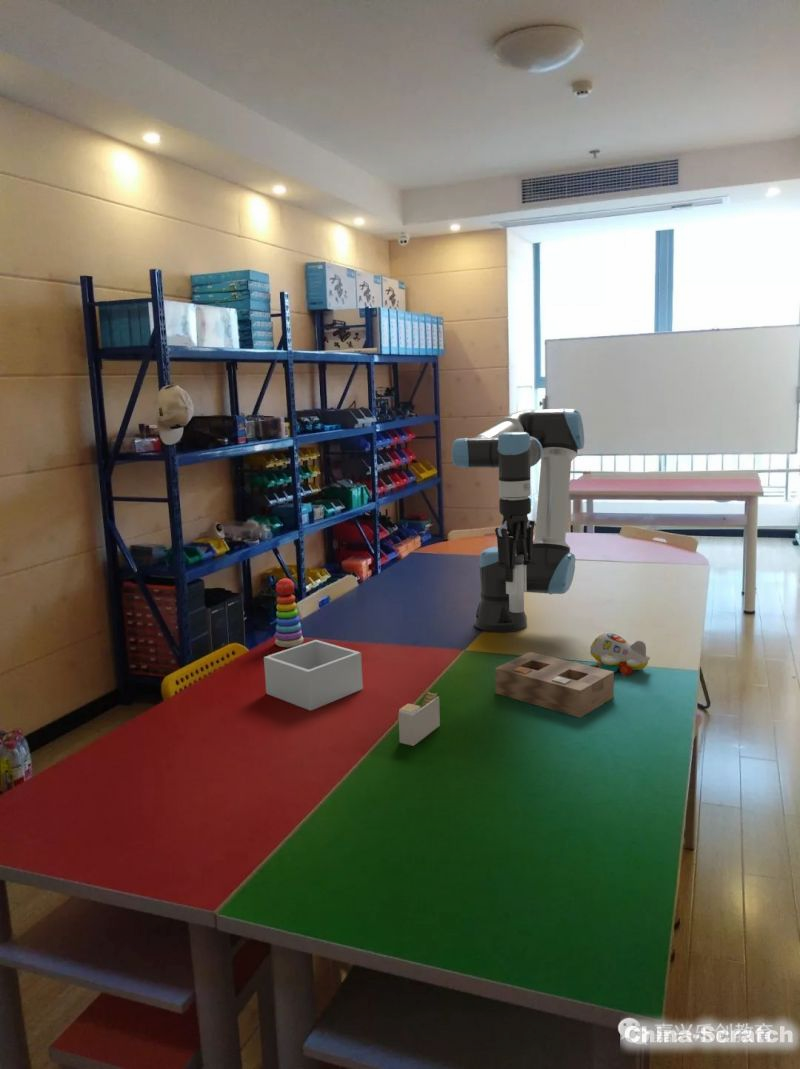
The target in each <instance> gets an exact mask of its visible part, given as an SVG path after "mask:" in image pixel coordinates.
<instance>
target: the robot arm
mask: <svg viewBox="0 0 800 1069" xmlns="http://www.w3.org/2000/svg"><path fill="white" fill-rule="evenodd" d="M584 434H585V432H584V425H583V420H582V415H581V412H580V411H579V410H577V409H576V408H564V407H563V408H550V409H549V408H548V409H547V408H545V409H524V410H520V411H516V412H513V413H511V414H508V415H506V416H503V417H502V418H500V419H498V420H497V421H496V422H494V424H493V426H492V427H490V428H489V429H487V430H485V431H483V432H481V433H480V434H478V435H476V436H474V437H464V438H463V437H462V438H456V439H455V440H453V443H452V447H451V461H452V463H453V465H454V466H455V467H457V468H463V469H465V468H466V469H469V468H470V469H473V468H474V469H475V468H476V469H477V468H479V469H481V468H482V469H483V468H485V469H487V468H488V469H489V468H490V469H491V468H492V469H494V468H497V469H498V496H499V497H500V498H499V499H498V501H499V502H498V504H499V505H498V506H499V507H498V508H499V509H498V510H499V514H501V516H502V522H501V526H500V527H496V528H494V532H495V535H496V543H497V544H496V546H495V545H494V546H491V547H488V548H486V549H483V550H482V551H481V553H480V555H479V565H478V568H479V587H480V588H479V595H480V597H479V598H480V600H479V602H478V603H479V604H478V606H477V610H476V613H475V616H474V626H475V627H476V628H478V629H479V630H482V631H485V632H491V633H511V632H516V631H519V630H520V631H521V630H523V629H525V628H527V625H528V617H527V614H526V612H525V610H524V612H520V613H513V612H510V611H509V594H511V595H517V569H516V568H514V566H515V554H516V553H519V554H523V555H524V593H535V594H536V593H537V594H548V595H562V594H563V595H564V594H565V593H567V592H568V591H569V589H570V588H571V586H572V583H573V579H574V575H575V570H576V556H575V554H574V553H572V552H571V547H570V546H569V544H568V543H567V542H566V536H567V521H568V510H569V509H568V508H569V496H570V484H571V469H572V461H573V460H574V459H576V458H577V456H578V450H579V451H581V450H582V449H584V447H585V435H584ZM538 462H540V471H539V483H538V484H539V485H538V495H537V496H538V497H537V505H536V506H537V507H536V520H530V519H529V517H528V515H529V514H531V512H532V500H531V498H530V496H531V494H532V492H531V489H532V488H531V468H532V467H534V466H535V465H537V464H538ZM534 530H535V531H534Z"/></svg>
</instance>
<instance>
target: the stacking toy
mask: <svg viewBox="0 0 800 1069" xmlns="http://www.w3.org/2000/svg"><path fill="white" fill-rule="evenodd" d="M275 590H276V592H277V594H278V596H277V598H276V601H277V604H276V607H275V608H276V609H277V610H276V613H275V614H276V617H277V618H276V619H275V621H276V622H275V623H276V625H275V629H276V631H275V635H274V636H275V640H274V644H275V645H276V646H278V647H281V648H293V647H296V646H299V645H302V644H304V643H303V642H304V640H305V639H304V637H303V631H302V629H301V628H302V624H301V622H300V620H301V619H300V616H299V615H298V614H299V611H298V609H297V604H296V596H295V595H294V594H293V593H294V591H295V583H294V582H293V581H292V580H291V579H290V578H288V577H284V578H281V579H279V580H278V581H277V582H276V585H275Z"/></svg>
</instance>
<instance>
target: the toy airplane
mask: <svg viewBox="0 0 800 1069" xmlns="http://www.w3.org/2000/svg"><path fill="white" fill-rule="evenodd" d="M646 646H647V645H646V643H645V642H644V641H643V640H637V641H635V642H633V643H632V644H631V643H630V642H628V641H627V640H626V639H624V638H623V637H622V636H620V635H618V634H615V633H605V632H604V633H602V634H600V635H599V636H597V637H596V638H595V639H594V640H593V641H592V643H591V645H590V649H589V650H590V654H591V656H592V657H593V659H595V661H596V662H598V665H597V668H600V669H605V670H609V671H613V672H614V673H616V672H617V671H618V669H619V672H620V674H622V675H624V676H628V675H631V674H632V671H636V670H637V671H638V670H644V669H645V668H646V667H647V666H648V664H649V661H650V659H651V657H650V655H648V654H647V647H646Z"/></svg>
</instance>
